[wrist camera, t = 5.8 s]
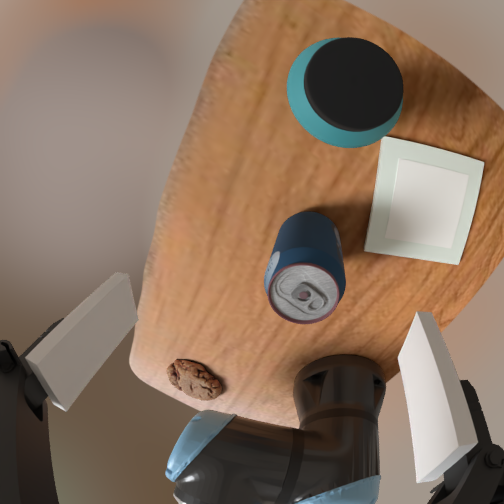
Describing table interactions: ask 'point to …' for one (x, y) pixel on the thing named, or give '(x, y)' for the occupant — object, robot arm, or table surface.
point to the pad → (422, 202)
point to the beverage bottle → (345, 91)
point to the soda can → (306, 269)
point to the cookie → (193, 380)
